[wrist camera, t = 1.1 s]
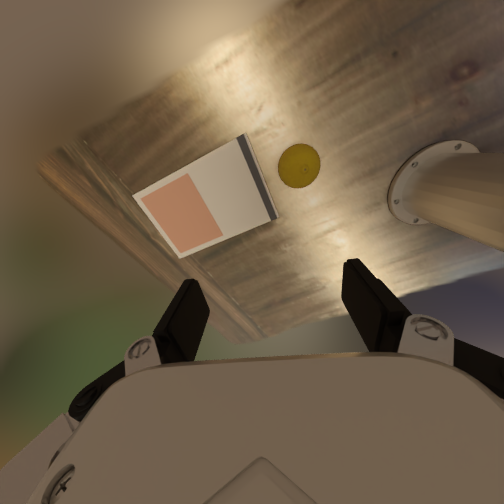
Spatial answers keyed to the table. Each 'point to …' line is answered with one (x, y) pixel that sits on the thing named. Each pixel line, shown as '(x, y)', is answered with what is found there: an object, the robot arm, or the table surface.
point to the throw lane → (210, 199)
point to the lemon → (299, 166)
